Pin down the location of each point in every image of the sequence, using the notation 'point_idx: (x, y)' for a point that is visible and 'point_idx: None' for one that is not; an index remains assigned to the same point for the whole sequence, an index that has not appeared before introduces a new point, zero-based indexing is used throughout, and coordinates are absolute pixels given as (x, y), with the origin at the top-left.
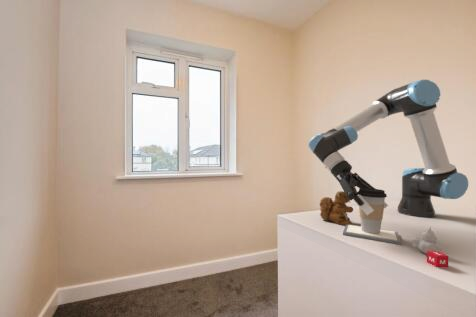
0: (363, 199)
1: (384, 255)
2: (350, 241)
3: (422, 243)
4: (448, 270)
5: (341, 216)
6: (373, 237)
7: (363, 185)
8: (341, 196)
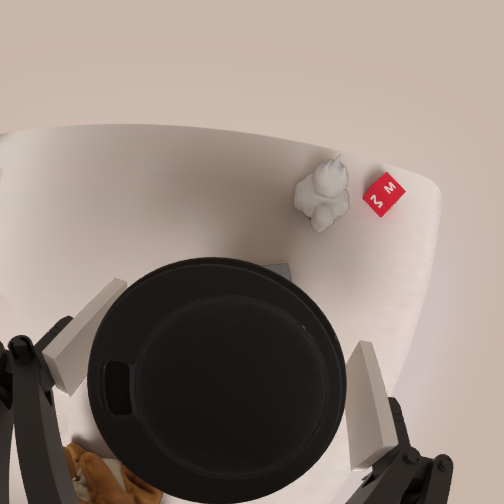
0: (387, 407)
1: (411, 300)
2: None
3: (346, 204)
4: None
5: (138, 488)
6: None
7: (54, 465)
8: None
